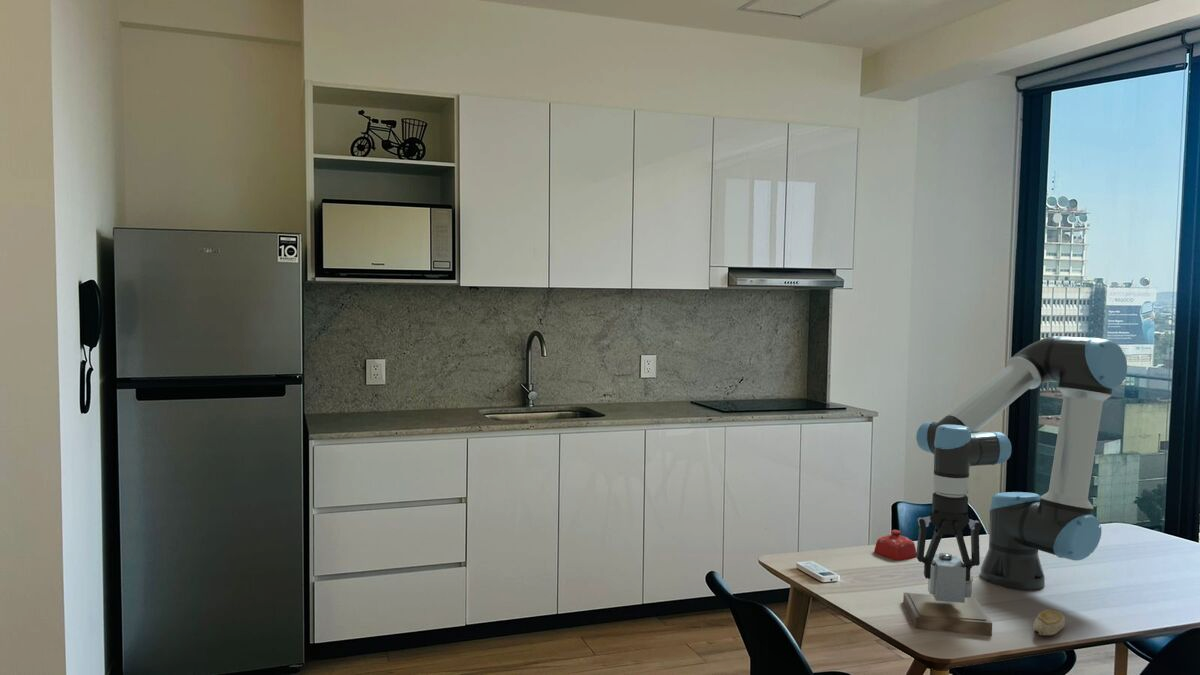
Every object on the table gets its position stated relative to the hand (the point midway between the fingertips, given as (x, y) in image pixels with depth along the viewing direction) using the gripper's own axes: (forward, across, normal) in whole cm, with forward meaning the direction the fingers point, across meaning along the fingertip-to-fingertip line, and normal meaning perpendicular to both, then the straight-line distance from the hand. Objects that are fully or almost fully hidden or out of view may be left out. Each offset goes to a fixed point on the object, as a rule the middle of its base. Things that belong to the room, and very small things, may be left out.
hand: (946, 593), depth 201 cm
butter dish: (+7, +4, -46) cm, 46 cm away
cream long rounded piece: (+4, -20, -2) cm, 20 cm away
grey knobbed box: (0, 0, 0) cm, 0 cm away
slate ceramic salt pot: (+6, -6, -13) cm, 16 cm away
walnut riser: (+6, 0, 0) cm, 6 cm away
